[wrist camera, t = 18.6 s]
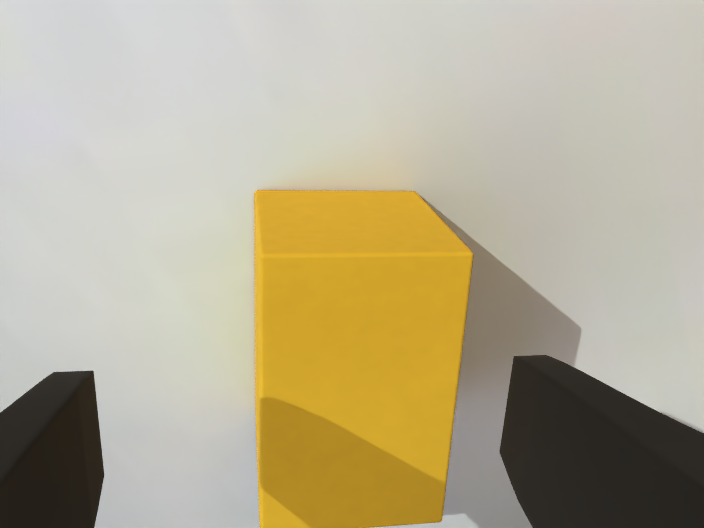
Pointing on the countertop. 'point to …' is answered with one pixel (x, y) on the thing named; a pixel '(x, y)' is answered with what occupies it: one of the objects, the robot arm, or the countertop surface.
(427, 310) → the sponge
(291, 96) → the countertop surface
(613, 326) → the countertop surface
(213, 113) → the countertop surface
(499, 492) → the countertop surface
